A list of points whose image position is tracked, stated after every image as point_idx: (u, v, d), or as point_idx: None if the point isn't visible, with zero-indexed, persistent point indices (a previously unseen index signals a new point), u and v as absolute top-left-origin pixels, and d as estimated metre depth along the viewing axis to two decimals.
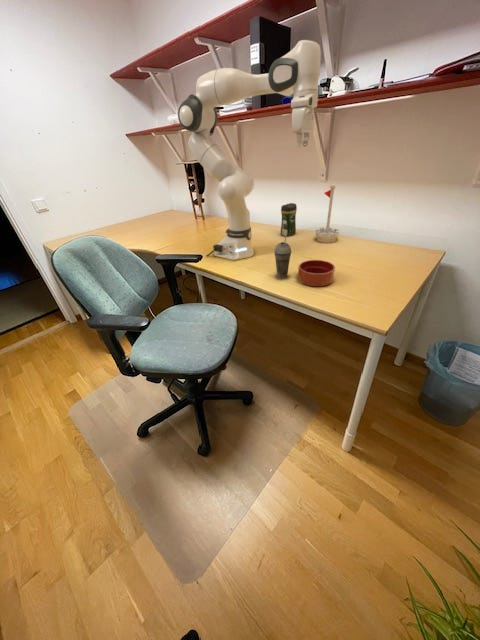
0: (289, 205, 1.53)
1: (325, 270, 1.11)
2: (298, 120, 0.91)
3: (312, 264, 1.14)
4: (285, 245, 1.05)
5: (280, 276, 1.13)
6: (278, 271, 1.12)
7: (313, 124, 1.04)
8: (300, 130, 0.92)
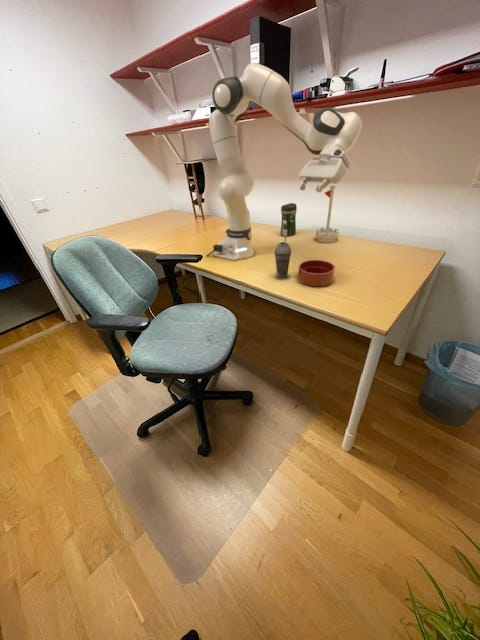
0: (289, 205, 1.53)
1: (325, 270, 1.11)
2: (341, 172, 0.92)
3: (312, 264, 1.14)
4: (285, 245, 1.05)
5: (280, 276, 1.13)
6: (278, 271, 1.12)
7: None
8: (337, 181, 0.93)
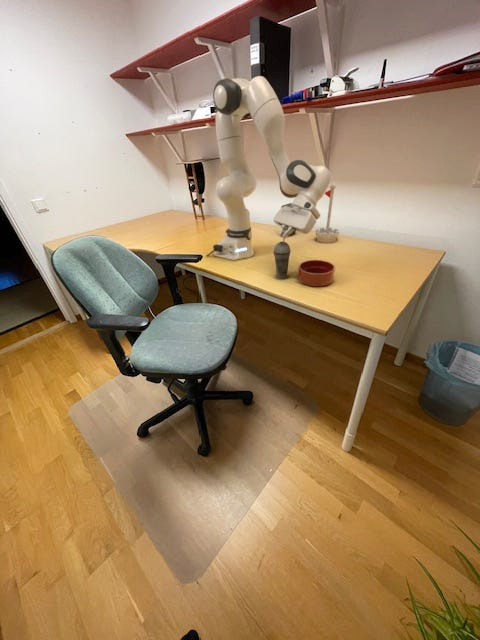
0: None
1: (325, 270, 1.11)
2: (311, 224, 0.97)
3: (312, 264, 1.14)
4: (284, 244, 1.06)
5: (280, 276, 1.13)
6: (278, 271, 1.12)
7: None
8: (307, 232, 0.98)
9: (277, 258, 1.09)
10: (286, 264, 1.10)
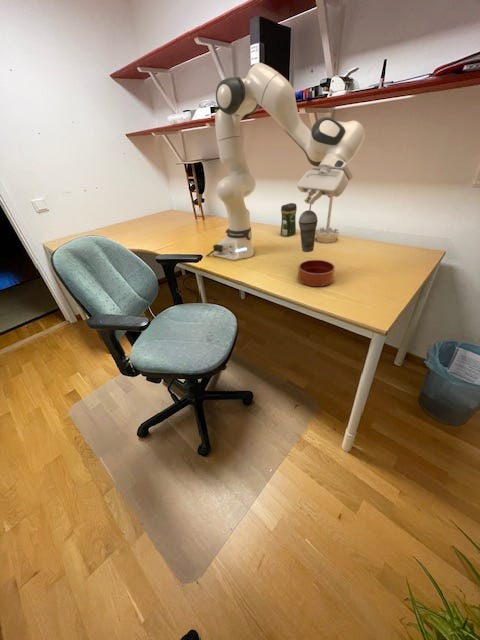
0: (289, 205, 1.53)
1: (325, 270, 1.11)
2: (343, 185, 0.86)
3: (312, 264, 1.14)
4: (309, 213, 0.96)
5: (304, 249, 1.04)
6: (302, 243, 1.03)
7: None
8: (338, 195, 0.87)
9: (301, 229, 1.00)
10: (311, 236, 1.00)
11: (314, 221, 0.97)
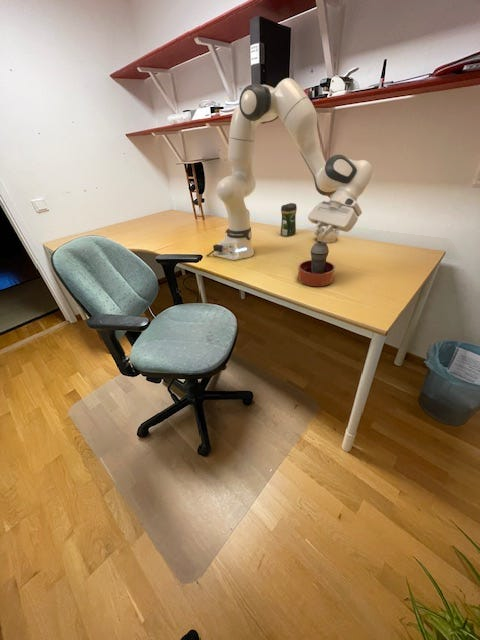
0: (289, 205, 1.53)
1: (325, 270, 1.11)
2: (353, 222, 0.92)
3: None
4: (321, 245, 1.01)
5: None
6: (312, 271, 1.08)
7: None
8: (348, 230, 0.93)
9: (313, 258, 1.05)
10: (322, 265, 1.05)
11: (326, 252, 1.02)
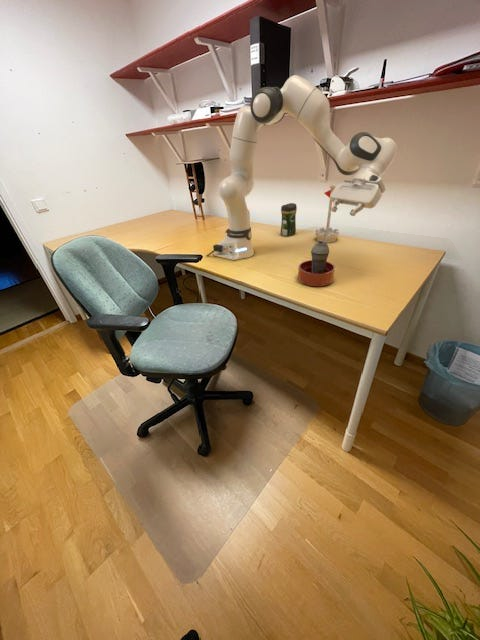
0: (289, 205, 1.53)
1: (325, 270, 1.11)
2: (377, 198, 0.93)
3: None
4: (322, 245, 1.01)
5: None
6: (313, 271, 1.08)
7: None
8: (372, 206, 0.94)
9: (313, 258, 1.05)
10: (322, 266, 1.05)
11: (326, 253, 1.02)
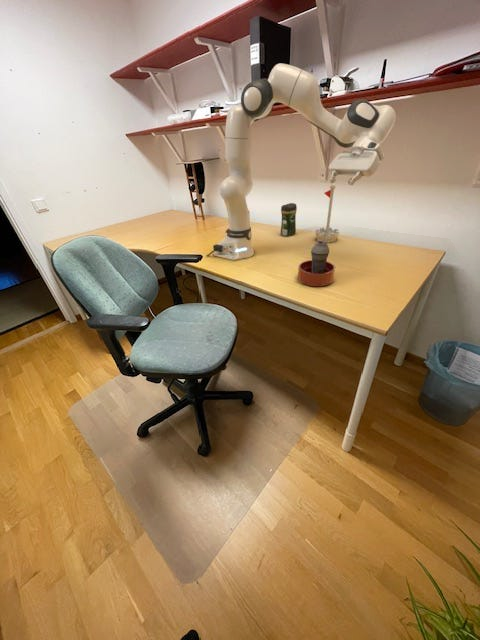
0: (289, 205, 1.53)
1: (325, 270, 1.11)
2: (375, 165, 0.92)
3: None
4: (322, 245, 1.01)
5: None
6: (313, 271, 1.08)
7: None
8: (371, 174, 0.93)
9: (313, 258, 1.05)
10: (322, 266, 1.05)
11: (326, 253, 1.02)
